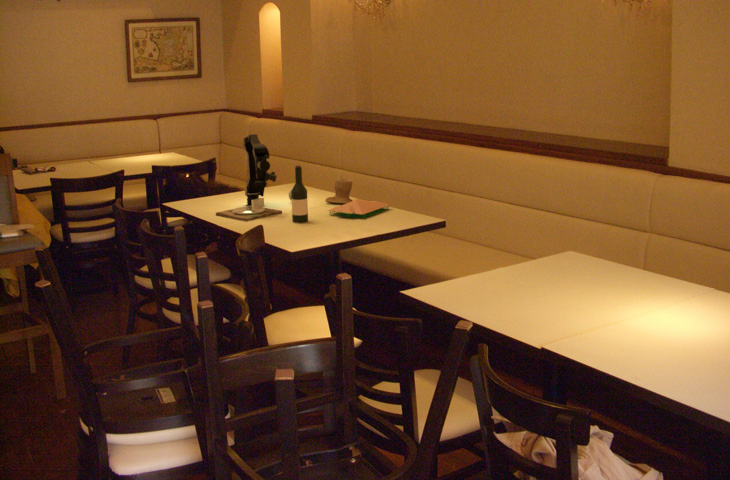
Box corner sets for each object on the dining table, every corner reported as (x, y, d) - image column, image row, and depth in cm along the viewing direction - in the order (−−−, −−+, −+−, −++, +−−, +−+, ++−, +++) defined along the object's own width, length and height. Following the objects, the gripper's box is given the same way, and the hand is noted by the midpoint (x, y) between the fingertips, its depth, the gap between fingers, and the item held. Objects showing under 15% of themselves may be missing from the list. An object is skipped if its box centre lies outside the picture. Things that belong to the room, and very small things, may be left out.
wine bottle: (292, 220, 399) (290, 164, 391) (308, 219, 399) (306, 164, 392) (292, 223, 391) (290, 167, 383) (308, 222, 391) (306, 166, 384)
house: (324, 217, 407) (324, 202, 405) (356, 206, 434) (356, 192, 432) (360, 221, 395) (360, 206, 393) (390, 210, 422) (390, 196, 420)
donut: (302, 201, 449) (302, 185, 447) (305, 202, 446) (304, 185, 444) (287, 203, 444) (287, 186, 442) (290, 204, 442) (289, 187, 439)
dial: (253, 206, 428) (252, 196, 426) (274, 210, 416) (273, 199, 415) (223, 212, 412) (222, 202, 410) (244, 216, 400) (243, 205, 399)
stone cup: (355, 202, 445) (355, 177, 441) (348, 205, 434) (347, 180, 431) (332, 200, 450) (332, 176, 447) (324, 204, 440) (324, 179, 436)
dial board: (251, 207, 432) (251, 204, 432) (281, 213, 416) (281, 210, 415) (215, 215, 413) (215, 212, 413) (246, 221, 396) (246, 218, 396)
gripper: (274, 170, 400) (276, 199, 404) (276, 165, 418) (277, 192, 422) (254, 171, 399) (255, 199, 403) (256, 166, 417) (257, 193, 421)
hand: (262, 196), depth 412 cm, fingers closed
